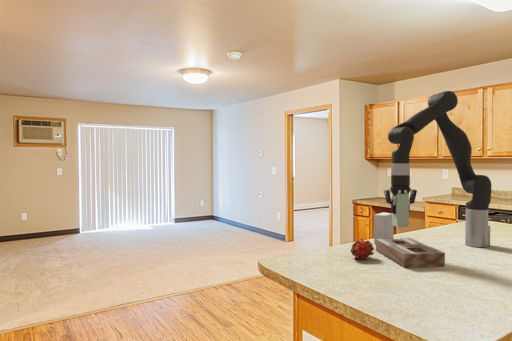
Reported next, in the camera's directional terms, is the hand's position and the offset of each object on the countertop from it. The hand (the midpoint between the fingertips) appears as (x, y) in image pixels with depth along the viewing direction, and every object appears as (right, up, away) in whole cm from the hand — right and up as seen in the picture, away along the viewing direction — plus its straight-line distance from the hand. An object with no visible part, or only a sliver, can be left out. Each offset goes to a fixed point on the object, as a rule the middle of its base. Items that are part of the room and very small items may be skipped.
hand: (400, 213), depth 157 cm
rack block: (+1, -18, -6) cm, 19 cm away
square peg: (0, -5, 0) cm, 5 cm away
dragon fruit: (-18, -18, -7) cm, 27 cm away
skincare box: (0, -17, +19) cm, 26 cm away
